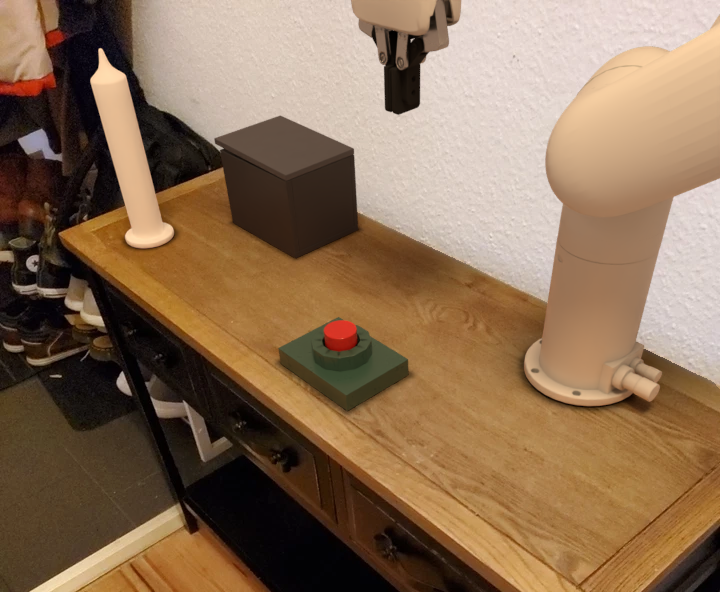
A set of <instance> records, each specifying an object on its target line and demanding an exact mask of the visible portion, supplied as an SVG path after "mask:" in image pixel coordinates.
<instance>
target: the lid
mask: <svg viewBox="0 0 720 592" xmlns="http://www.w3.org/2000/svg"><path fill="white" fill-rule="evenodd" d="M214 144H215V145H216V146H218V147H220V148H221V149H226V150H228V151H230V152H232V153H234V154H235V155H237V156H239V157H241V158H243V159H245V160H247V161H249V162H251V163H253V164H255V165H256V166H258V167H260V168H262V169H264V170H266V171H268V172H270V173H272V174H274V175H275V176H277V177H279V178H281V179H283V180H285V181H288V180H290V179H293V178H295V177H298V176H300V175H303V174H305V173H308V172H311V171H313V170H316V169H318V168H321V167H323V166H326V165H328V164H331V163H333V162H336V161H338V160H341V159H343V158H346V157H348V156H351V155H355V148H354V147H352V146H349V145H348V144H345V143H343V142H340V141H338V140H336V139H335V138H332V137H329V136H327V135H325V134H322V133H321V132H318V131H317V130H314V129H312V128H309V127H307V126H305V125H302V124H300V123H298V122H297V121H294V120H291V119H290V118H287V117H284V116H283V115H277V116H275V117H272V118H269V119H266V120H263V121H260V122H257V123H255V124H251V125H249V126H245V127H242V128H240V129H236V130H234V131H231V132H228V133H226V134H223V135H220V136H217V137H214Z"/></svg>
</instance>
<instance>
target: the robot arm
mask: <svg viewBox="0 0 720 592" xmlns="http://www.w3.org/2000/svg"><path fill="white" fill-rule="evenodd" d="M350 5H351V10H352V13H353V14H354V15H355V17H356V18H357V19H358V23H357V24H358V29H359V30H360V31H361V32H362V33H364V34H365V35H366V36H368V37H369V38H372V41H373V42H374V44H375V46H376V48H377V58H378V61H379V63H380V65H382V66H383V88H384V89H383V90H384V110H385V111H386V112H389V113H393V115H397V116H400V115H402V114H405V113H408V112H410V111H412V110H415V109H418V108H419V107H420V105H421V64H424V63H425V62H426V61H427V56H428V54H429V53H431V52H437V51H441V50H444V49H446V48H448V47H449V46H450V37H449V28H448V27H451V26H454V25H456V24H458V22H459V21H460V18H461V13H462V0H350ZM544 165H545V166H544V168H545V175H546V179H547V182H548V184H549V187H550V189H551V190H552V192H553V194H554V195H555V197H556V198H557V199H558V200H559V201H560V202H561V203H562V206H561V213H560V216H559V217H560V218H559V226H558V232H557V237H556V243H555V250H554V256H553V263H552V270H551V276H550V283H549V289H548V290H549V291H548V297H547V303H546V304H547V305H546V310H545V317H544V323H543V329H542V330H543V331H542V335H541V336H542V337H541V338H538V339H537V340H536V341H535V342H533V343H532V344H531V345H530V346H529V347H528V348H527V350H526V353H525V355H524V360H523V361H524V362H523V371H524V374H525V377H526V378H527V380H528V382H529V383H530V384H531V385H532V386H533V387H534V388H535V389H536V390H537V391H539V392H540V393H541V394H543V395H545V396H547V397H549V398H551V399H553V400H555V401H558V402H561V403H564V404H569V405H574V406H583V407H600V406H601V407H602V406H606V405H612V404H616V403H618V402H622V401H623V400H625V399H627V398H629V397H631V395H633V394H634V395H636V396H637V397H639V398H641V399H643V400H644V401H647V402H649V403H650V402H652V401H653V400H655V398H656V397H657V395H658V394H659V391H660V389H661V385H660V384H659V383H658V382H659V381H660V379H661V378H662V376H663V371H661V370H659V369H658V368H656V367H653V366H651V365H648V364H646V363H645V362H644V360H643V359H642V357H643V353H644V348H645V344H642V343H640V342H638V341H637V338H638V334H639V330H640V326H641V323H642V318H643V315H644V311H645V307H646V303H647V299H648V295H649V292H650V288H651V284H652V278H653V276H654V272H655V268H656V264H657V260H658V257H659V252H660V249H661V246H662V242H663V239H664V235H665V232H666V231H665V230H666V227H667V223H668V219H669V215H670V212H671V208H672V205H673V201H674V198H675V197H677V196H680V195H683V194H684V193H687V192H689V191H692V190H695V189H697V188H700V187H702V186H704V185H707V184H710V183H712V182H714V181H717V180H719V179H720V14H718V16H717V17H716V19H715V20H714V22H713V24H712V25H711V27H710V29H708V30H706V31H705V32H703V33H701V34H700V35H697V36H696V37H695V38H692V39H691V40H689V41H687V42H685V43H683V44H681V45H679V46H678V47H676V48H674V49H673V50H669V49H665V48H663V47H659V46H654V45H653V46H649V45H648V46H647V45H645V46H638V47H634V48H630V49H627V50H625V51H622V52H620V53H618V54H616V55H615V56H614V57H612V58H610V59H609V60H607V61H606V62H604V63H603V65H601V66H600V67H599V68H598V69H597V70H596V71H595V72H594V74H592V76H591V77H590V78H589V79H588V80H587V81H586V83H585V84H584V85H583V86H582V88H581V89H580V90H579V91H578V92H577V94H576V95H575V97H574V98H573V99H572V101H570V103H569V104H568V106H567V107H566V108H565V109H564V110H563V111H562V112H561V114H560V116H559V117H558V119H557V120H556V122H555V124H554V126H553V127H552V129H551V133H550V135H549V138H548V141H547V145H546V150H545V158H544Z"/></svg>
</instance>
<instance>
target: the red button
mask: <svg viewBox="0 0 720 592" xmlns="http://www.w3.org/2000/svg"><path fill="white" fill-rule="evenodd" d="M355 325H356V324H355V323H354V322H352V321H349V320H345V319H343V320H338V321H334V322H331V323H329V324H327V325H326V326H325V328H324V338H325V345H326V347H327V348H328V349H330V350H332V351H338V352H339V351H346V350H350V349H352V348H354V347H355V346H356V345H357V328H356V326H355Z"/></svg>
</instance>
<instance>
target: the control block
mask: <svg viewBox="0 0 720 592" xmlns="http://www.w3.org/2000/svg"><path fill="white" fill-rule="evenodd" d="M338 320H344V318H342V317H340V316H338V317H336V318H333V319H332V320H330V321H328V322H326V323H323V324H322V325H320V326H318V327H316V328H314V329H312V330H310V331H308V332H306V333H305V334H302V335H301V336H299V337H297V338H295V339H292V340H291V341H288V342H287V343H285V344H283V345H282V346H279V347H278V348H277V349H278V355H279V362H280V364H281V365H282V366H283V367H285V368H286V369H287V370H289V371H290V372H291V373H294V374H295V375H296V376H297V377H299V378H300V379H301V380H302V381H305V383H307V384H308V385H310V386H311V387H313V388H314V389H315V390H317V391H318V392H319V393H321V394H323V395H324V396H325V397H326V398H328V399H329V400H331V401H332V402H333V403H335V404H336V405H338V406H339V407H341V408H342V409H344V411H346V412H348V411H350V410H352V409H354V408H356V407H357V406H359V405H360V404H362V403H364V402H365V401H367V400H369V399H371V398H372V397H374V396H375V395H377V394H379V393H381V392H383V391H384V390H386V389H388V388H389V387H391V386H392V385H394V384H397V382H400V381H401V380H403V379H404V378H406V377H408V376H409V358H408V357H405V356H404V355H403V354H400V353H399V352H398V351H396V350H394V349H392V348H391V347H389V346H388V345H386V344H384V343H382V342H381V341H379V340H378V339H376V338H375V337H373V336H371V335H370V332H369V331H368V330H366V329H365V328H363V327H362V326H361V325H358V324H355V326H356V328H357V345H356V346H355V347H354V348H352V349H350V350H346V351H339V352H338V351H332V350H330V349H328V348H327V347H326V345H325V338H324V328H325V326H326V325H327V324H329V323H331V322H334V321H338Z"/></svg>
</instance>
